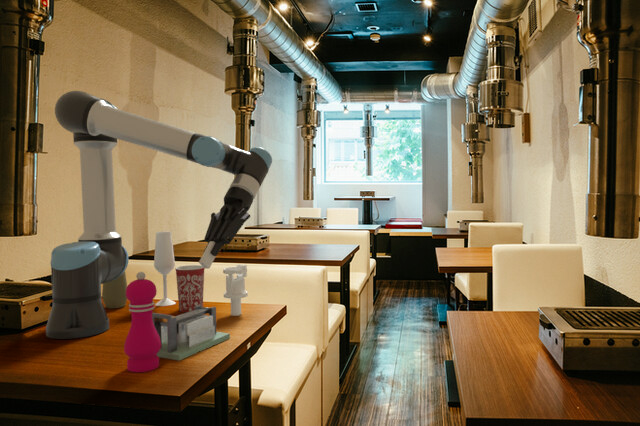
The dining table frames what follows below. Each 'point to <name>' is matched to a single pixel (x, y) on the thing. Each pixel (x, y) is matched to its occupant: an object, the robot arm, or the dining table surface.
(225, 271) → the white plastic part
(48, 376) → the dining table surface
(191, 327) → the grey blocky device
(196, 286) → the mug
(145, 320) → the pepper mill
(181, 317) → the grey bar
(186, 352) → the mainboard
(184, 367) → the dining table surface
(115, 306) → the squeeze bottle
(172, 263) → the champagne flute
